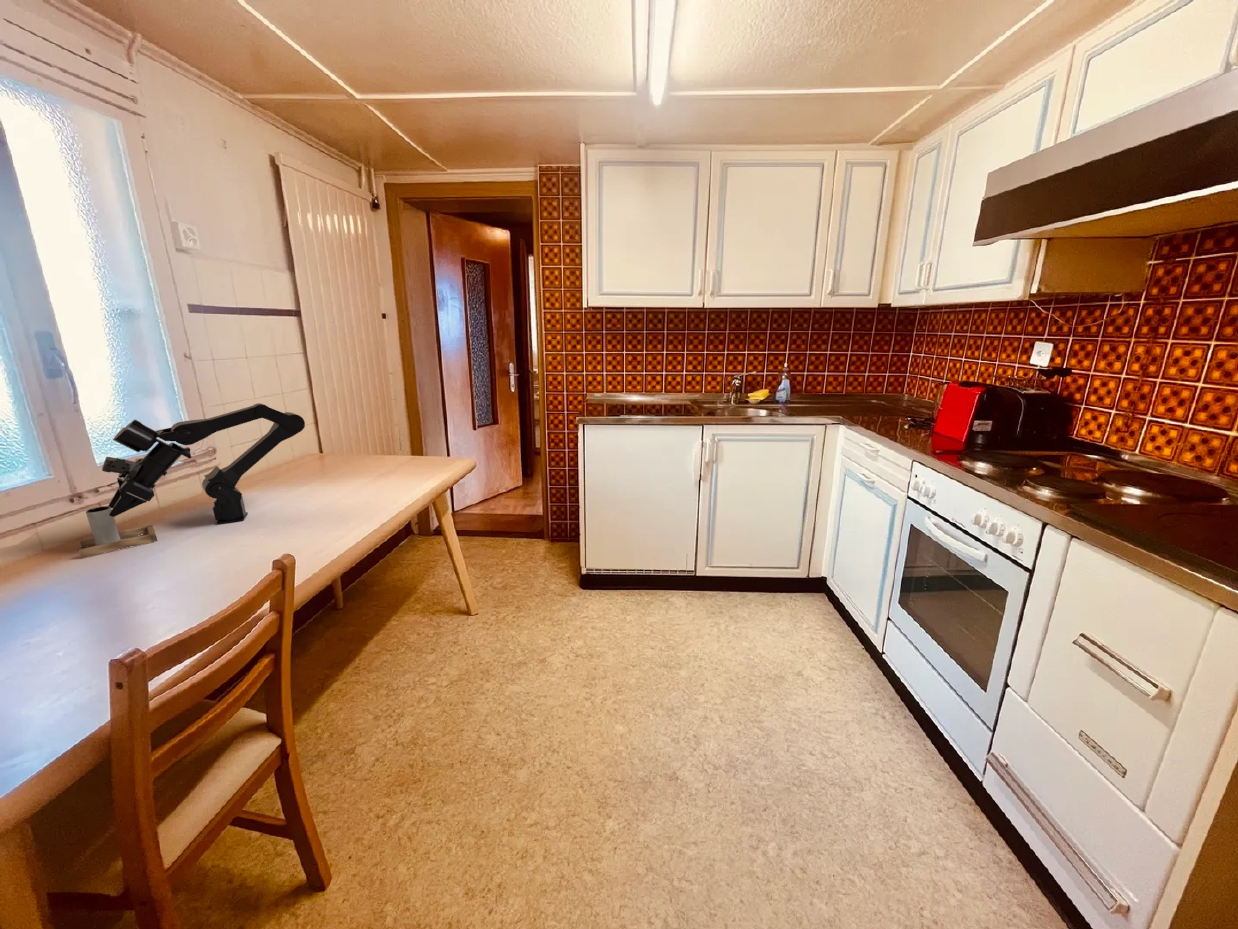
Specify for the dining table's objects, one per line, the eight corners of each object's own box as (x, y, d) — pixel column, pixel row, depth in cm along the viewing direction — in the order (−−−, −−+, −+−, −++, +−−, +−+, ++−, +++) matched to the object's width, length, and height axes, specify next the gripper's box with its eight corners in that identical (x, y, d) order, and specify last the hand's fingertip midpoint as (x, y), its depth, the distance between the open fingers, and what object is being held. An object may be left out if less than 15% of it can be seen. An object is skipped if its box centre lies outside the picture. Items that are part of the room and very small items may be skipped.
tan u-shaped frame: (154, 531, 139) (152, 524, 139) (157, 541, 133) (155, 534, 132) (81, 547, 130) (79, 539, 129) (81, 558, 123) (79, 551, 122)
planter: (106, 550, 127) (94, 512, 124) (92, 549, 128) (80, 511, 125) (126, 543, 131) (115, 506, 129) (112, 542, 132) (101, 505, 130)
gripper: (120, 439, 134) (72, 487, 130) (124, 450, 122) (71, 504, 117) (166, 462, 142) (122, 509, 137) (174, 475, 129) (126, 526, 125)
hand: (110, 511), depth 129 cm, fingers open, 9 cm apart
